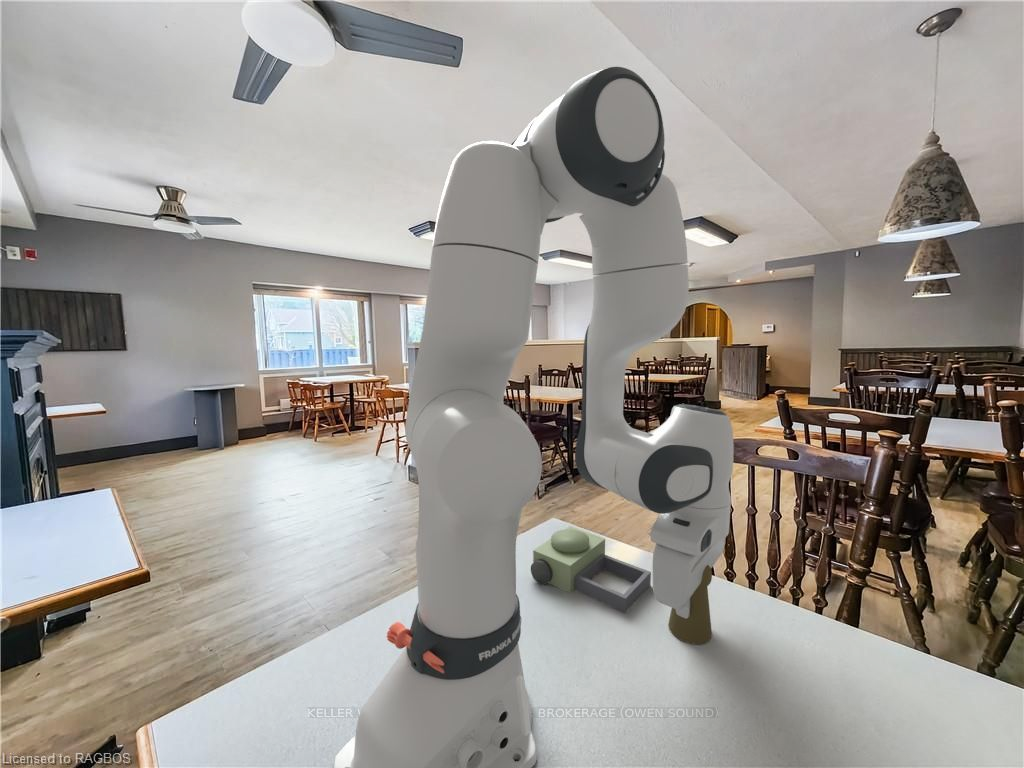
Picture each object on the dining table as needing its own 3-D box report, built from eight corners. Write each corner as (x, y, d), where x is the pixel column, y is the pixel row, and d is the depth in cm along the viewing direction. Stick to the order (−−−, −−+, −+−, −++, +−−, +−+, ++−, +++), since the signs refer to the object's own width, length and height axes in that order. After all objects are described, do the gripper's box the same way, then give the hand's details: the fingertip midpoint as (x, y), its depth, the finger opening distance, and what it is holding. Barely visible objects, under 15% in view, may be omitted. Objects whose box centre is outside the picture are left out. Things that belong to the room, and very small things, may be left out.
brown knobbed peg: (706, 650, 60) (710, 577, 59) (662, 632, 64) (665, 563, 62) (716, 626, 65) (720, 558, 64) (675, 610, 69) (678, 546, 67)
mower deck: (618, 621, 67) (619, 584, 66) (529, 578, 78) (529, 546, 77) (655, 579, 77) (657, 546, 77) (572, 547, 89) (573, 518, 88)
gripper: (696, 489, 72) (692, 566, 74) (645, 534, 57) (641, 630, 59) (738, 498, 68) (732, 580, 70) (694, 550, 53) (689, 653, 54)
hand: (690, 603), depth 64 cm, fingers closed on brown knobbed peg, 5 cm apart
